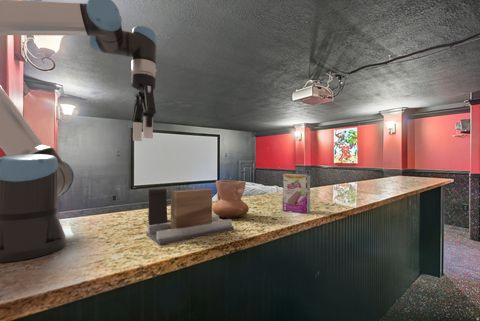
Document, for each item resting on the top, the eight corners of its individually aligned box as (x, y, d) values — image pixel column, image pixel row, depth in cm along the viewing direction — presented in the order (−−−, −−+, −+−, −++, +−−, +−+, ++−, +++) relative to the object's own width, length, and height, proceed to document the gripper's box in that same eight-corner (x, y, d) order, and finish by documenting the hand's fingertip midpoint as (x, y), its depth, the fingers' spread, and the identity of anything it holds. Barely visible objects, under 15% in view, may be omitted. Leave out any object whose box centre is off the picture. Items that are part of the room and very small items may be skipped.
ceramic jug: (257, 218, 96) (257, 181, 96) (224, 222, 88) (224, 182, 88) (234, 210, 111) (234, 179, 111) (204, 214, 103) (204, 180, 104)
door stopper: (167, 224, 85) (167, 189, 86) (148, 226, 83) (149, 190, 83) (164, 218, 94) (165, 187, 94) (148, 220, 92) (148, 187, 92)
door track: (159, 245, 64) (159, 233, 64) (146, 235, 73) (146, 224, 73) (233, 229, 79) (233, 220, 79) (215, 222, 88) (215, 214, 88)
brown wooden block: (211, 227, 78) (212, 189, 78) (176, 233, 71) (176, 192, 71) (205, 224, 81) (205, 188, 81) (170, 230, 74) (170, 190, 74)
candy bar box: (282, 211, 109) (282, 174, 109) (286, 209, 113) (286, 173, 113) (307, 214, 103) (307, 175, 103) (310, 212, 107) (310, 174, 107)
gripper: (167, 67, 75) (165, 137, 74) (145, 87, 95) (143, 142, 95) (141, 61, 70) (139, 135, 70) (124, 83, 90) (122, 140, 90)
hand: (142, 139), depth 82 cm, fingers open, 13 cm apart
